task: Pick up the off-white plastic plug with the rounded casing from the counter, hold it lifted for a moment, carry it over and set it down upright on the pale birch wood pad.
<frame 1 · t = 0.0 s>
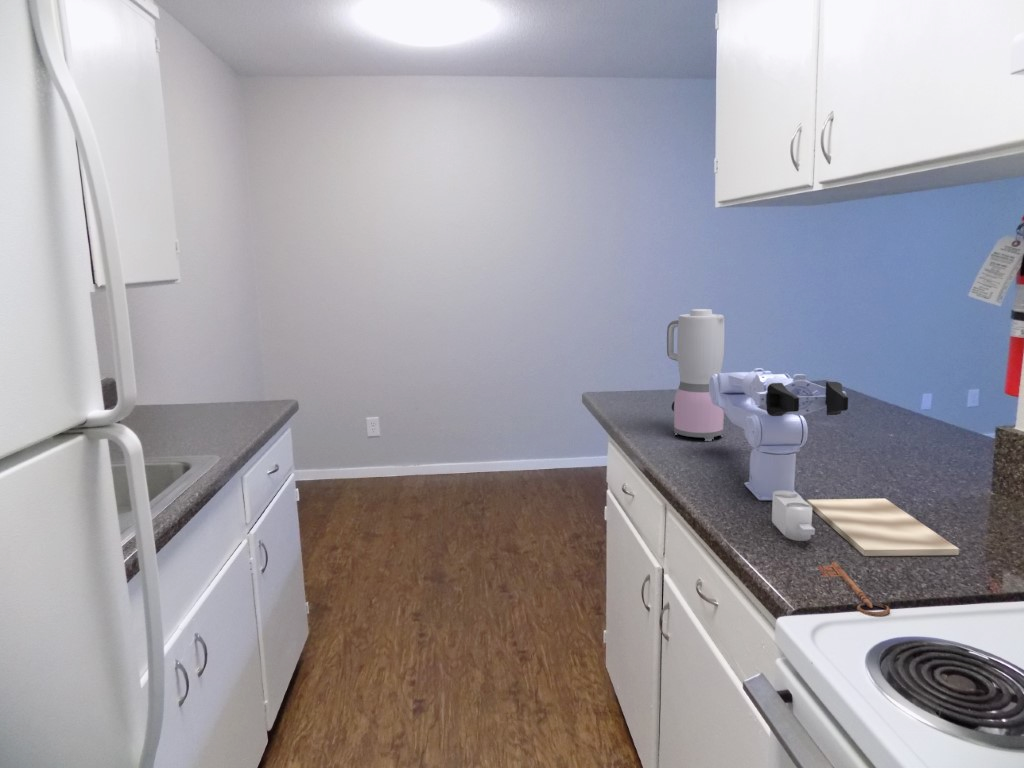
hand: (821, 404, 109), 22 cm above the worktop, tool horizontal, fingers open, 7 cm apart
pad: (875, 527, 115), on the worktop
key: (847, 591, 95), on the worktop
plug: (790, 528, 115), on the worktop
blender: (692, 435, 176), on the worktop
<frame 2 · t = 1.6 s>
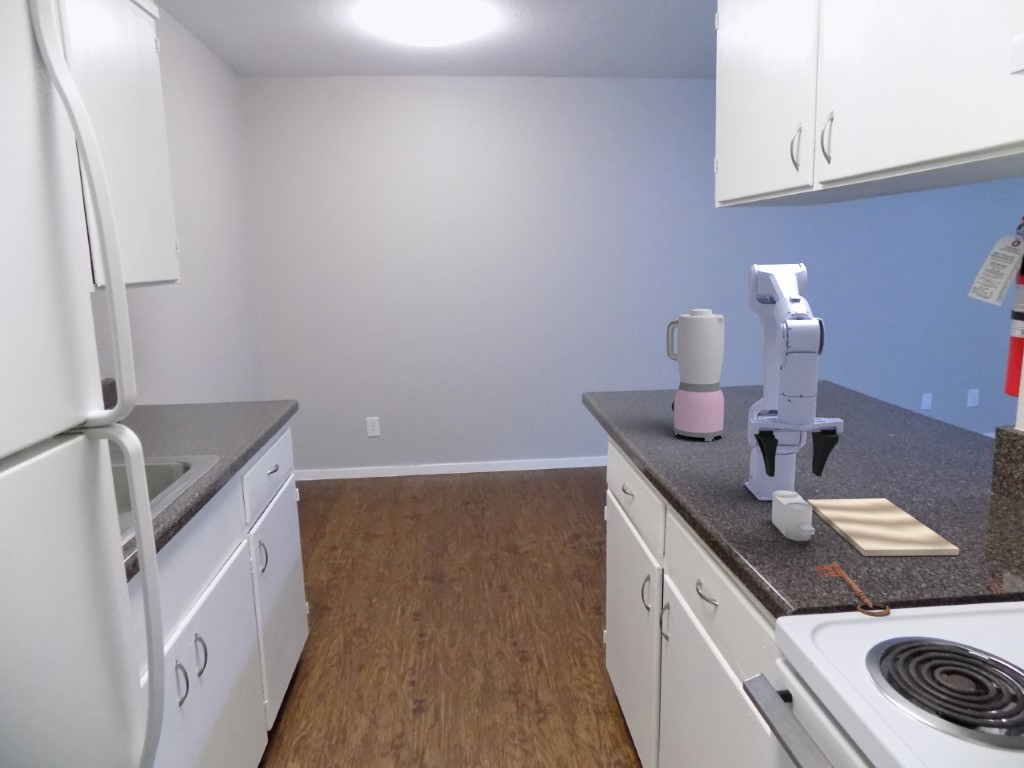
hand: (793, 474, 113), 9 cm above the worktop, tool pointing down, fingers open, 7 cm apart
nothing on the worktop moved.
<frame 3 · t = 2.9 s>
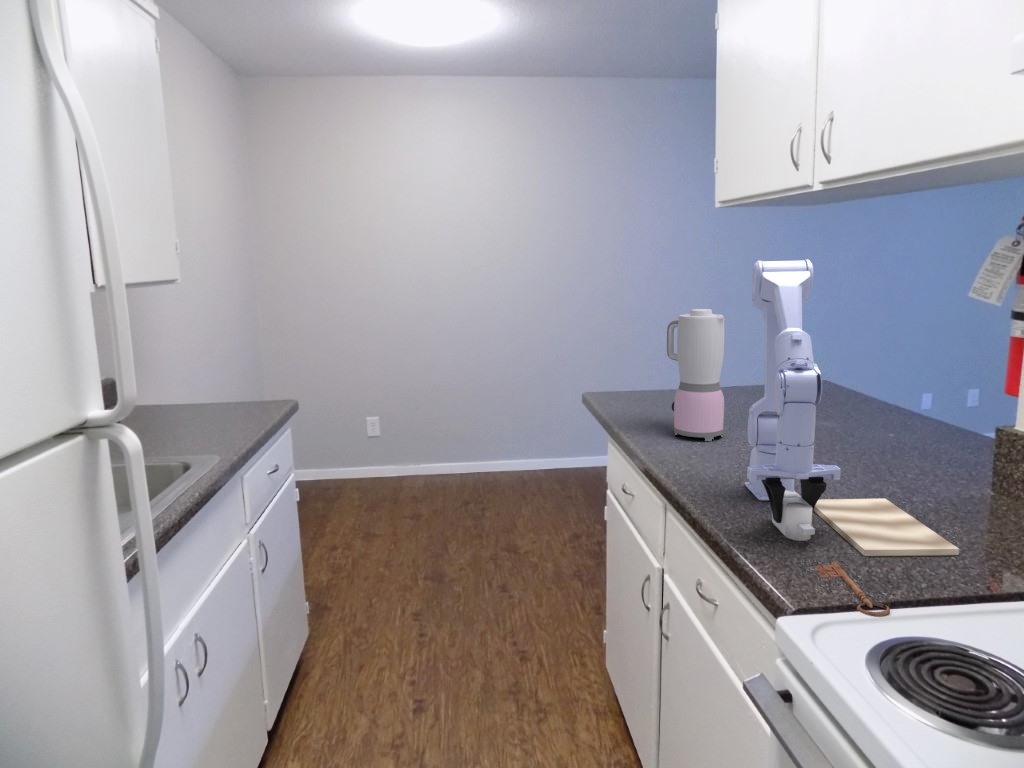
hand: (790, 520, 115), 1 cm above the worktop, tool pointing down, fingers closed on plug, 4 cm apart
plug: (790, 528, 115), on the worktop, touching gripper
everything else where it was.
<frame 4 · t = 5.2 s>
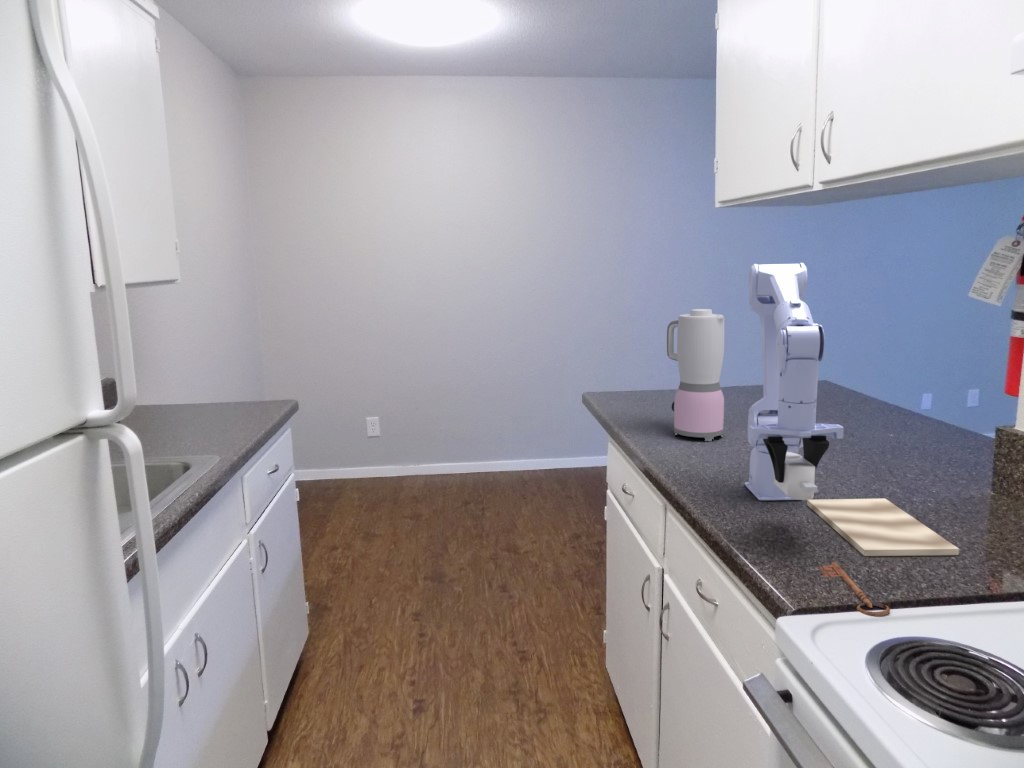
hand: (793, 480, 114), 8 cm above the worktop, tool pointing down, fingers closed on plug, 4 cm apart
plug: (793, 489, 114), point 7 cm above the worktop, touching gripper
everything else where it was.
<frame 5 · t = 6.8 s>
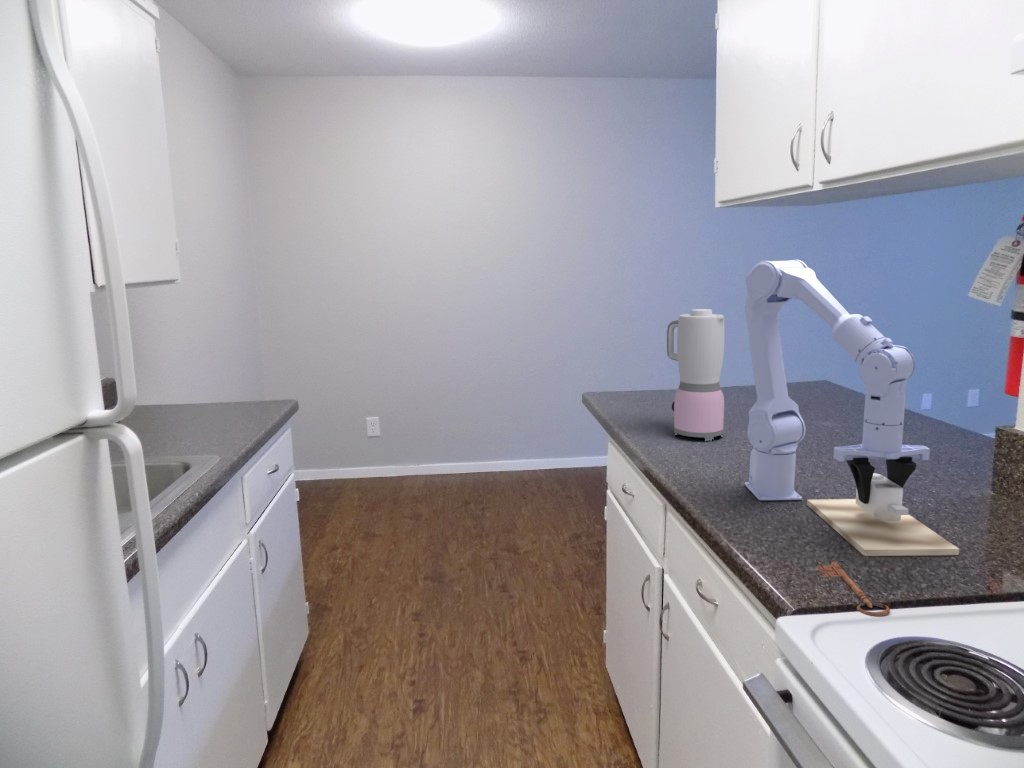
hand: (877, 501, 114), 5 cm above the worktop, tool pointing down, fingers closed on plug, 4 cm apart
plug: (877, 510, 114), point 3 cm above the worktop, touching gripper
everything else where it was.
when the fingers open (4 cm above the worktop, at t = 7.7 s): plug drops 1 cm, resting on pad.
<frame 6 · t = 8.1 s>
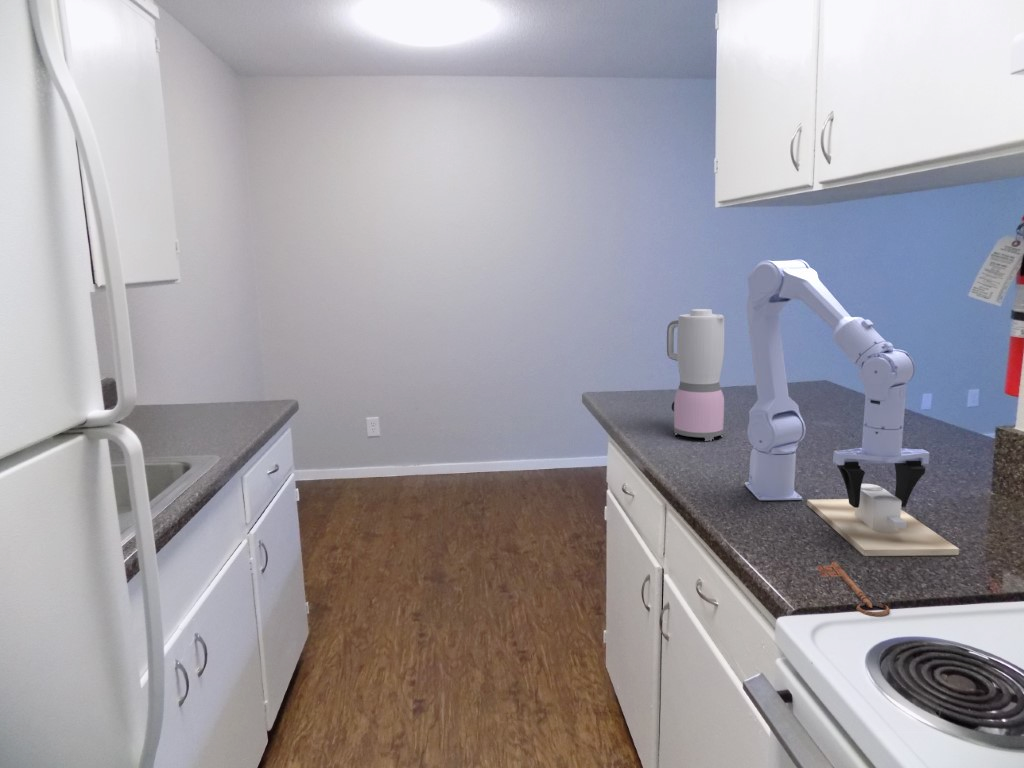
hand: (877, 505, 114), 4 cm above the worktop, tool pointing down, fingers open, 7 cm apart
plug: (876, 522, 114), point 1 cm above the worktop, touching pad
everything else where it was.
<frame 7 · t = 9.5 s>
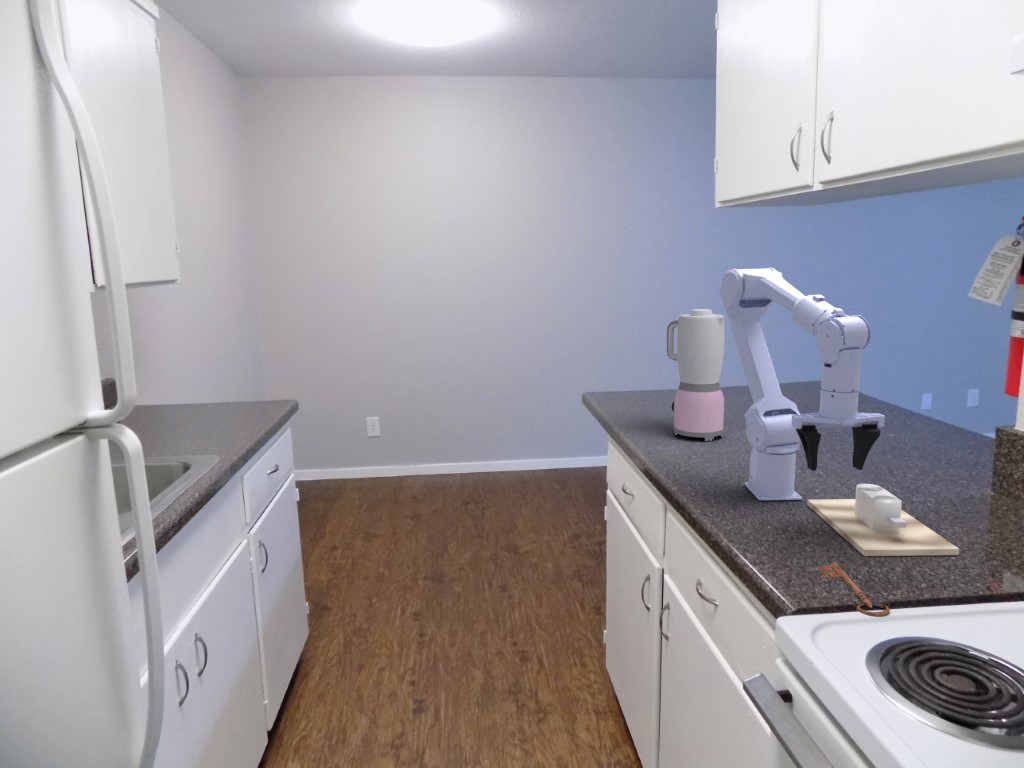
hand: (834, 468, 116), 9 cm above the worktop, tool pointing down, fingers open, 7 cm apart
nothing on the worktop moved.
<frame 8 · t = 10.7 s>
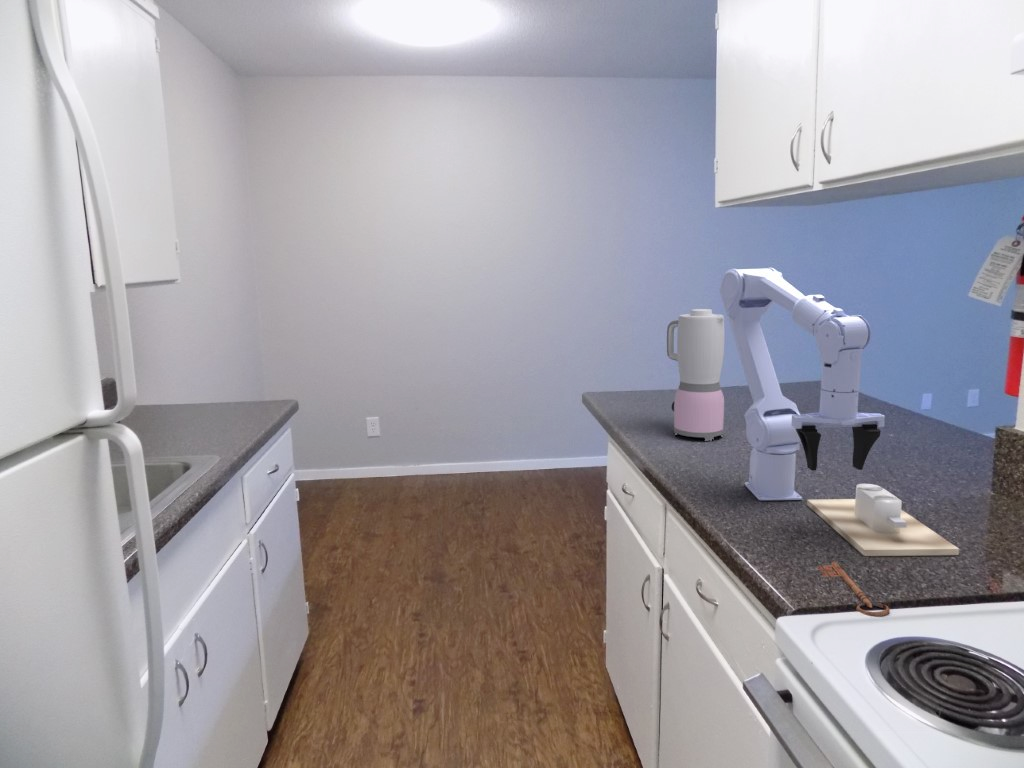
hand: (834, 468, 116), 9 cm above the worktop, tool pointing down, fingers open, 7 cm apart
nothing on the worktop moved.
at the end: plug inside the target area on the pad (0.1 cm from its centre), point 1.0 cm above the pad's base; plug tilted 0°; the gripper is holding nothing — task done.
